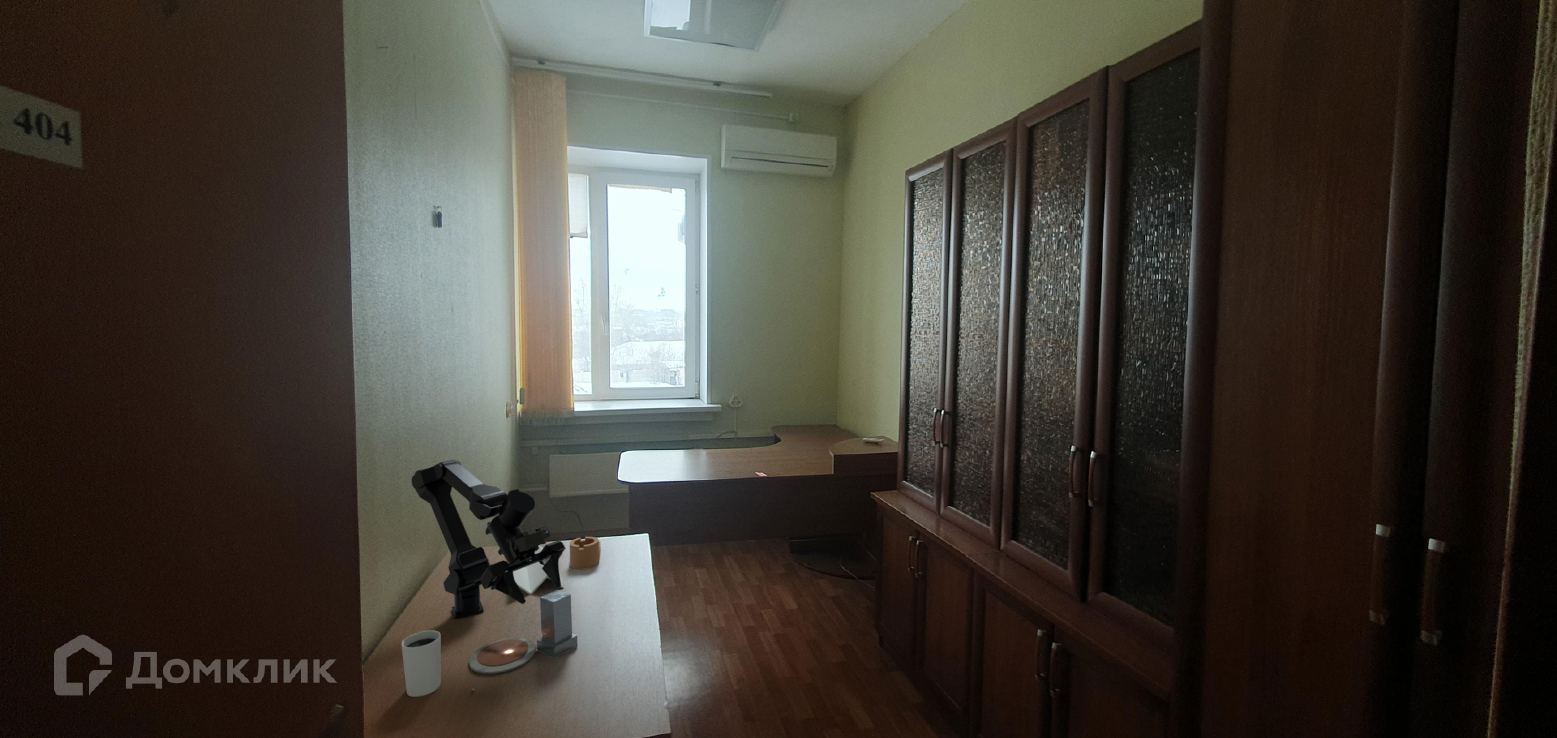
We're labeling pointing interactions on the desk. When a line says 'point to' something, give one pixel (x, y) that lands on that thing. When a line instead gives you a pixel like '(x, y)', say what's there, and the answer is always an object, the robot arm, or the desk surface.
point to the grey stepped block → (556, 625)
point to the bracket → (584, 553)
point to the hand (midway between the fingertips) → (542, 594)
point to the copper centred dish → (502, 656)
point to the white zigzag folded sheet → (531, 576)
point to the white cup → (422, 662)
